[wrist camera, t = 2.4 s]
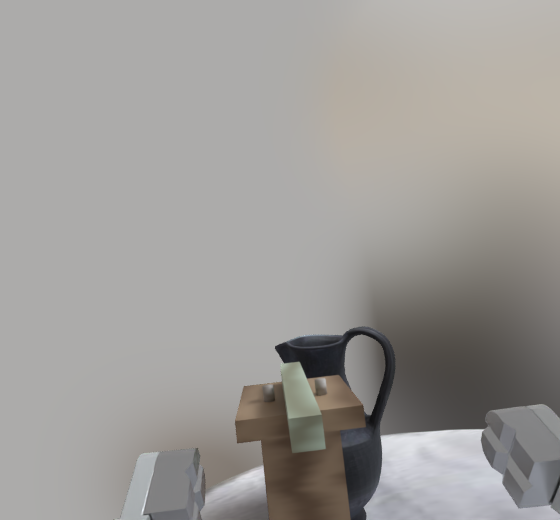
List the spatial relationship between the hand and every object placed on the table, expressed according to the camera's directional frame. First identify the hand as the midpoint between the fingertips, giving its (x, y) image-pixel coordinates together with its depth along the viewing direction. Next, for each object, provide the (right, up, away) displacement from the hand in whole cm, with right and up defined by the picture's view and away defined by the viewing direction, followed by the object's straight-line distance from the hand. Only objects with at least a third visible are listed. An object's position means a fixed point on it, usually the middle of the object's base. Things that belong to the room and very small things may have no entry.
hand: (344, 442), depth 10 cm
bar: (0, -9, +25) cm, 27 cm away
